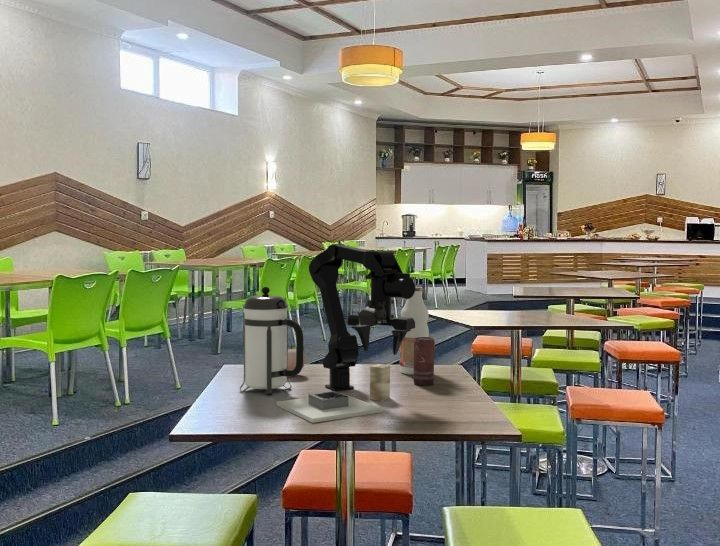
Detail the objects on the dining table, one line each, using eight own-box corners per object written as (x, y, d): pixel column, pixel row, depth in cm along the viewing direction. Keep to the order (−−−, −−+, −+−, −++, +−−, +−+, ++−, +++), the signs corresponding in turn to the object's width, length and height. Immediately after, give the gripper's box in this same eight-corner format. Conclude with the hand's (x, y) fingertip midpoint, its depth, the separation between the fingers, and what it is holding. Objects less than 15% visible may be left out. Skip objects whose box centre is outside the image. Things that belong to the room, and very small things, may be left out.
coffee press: (240, 398, 194) (240, 289, 193) (238, 385, 210) (238, 284, 208) (303, 395, 198) (303, 288, 196) (296, 383, 213) (297, 284, 212)
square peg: (369, 398, 195) (370, 366, 194) (377, 396, 198) (377, 364, 197) (382, 400, 192) (382, 368, 192) (389, 398, 196) (390, 365, 195)
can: (433, 386, 211) (434, 339, 210) (412, 385, 212) (412, 339, 211) (435, 382, 217) (436, 336, 216) (414, 381, 218) (415, 336, 217)
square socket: (308, 403, 184) (308, 394, 184) (333, 400, 188) (333, 390, 188) (322, 409, 178) (322, 400, 178) (348, 406, 182) (348, 396, 182)
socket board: (276, 405, 186) (276, 401, 186) (342, 396, 197) (342, 393, 197) (312, 422, 169) (312, 418, 169) (381, 412, 180) (382, 408, 180)
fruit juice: (410, 376, 226) (411, 288, 224) (394, 371, 234) (394, 286, 232) (434, 373, 231) (435, 287, 229) (417, 368, 239) (418, 285, 237)
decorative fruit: (284, 379, 219) (284, 347, 219) (273, 375, 226) (273, 344, 226) (311, 376, 224) (311, 345, 224) (299, 372, 231) (299, 341, 231)
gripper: (336, 296, 192) (335, 353, 193) (395, 300, 182) (395, 360, 183) (358, 293, 201) (358, 348, 202) (416, 297, 191) (415, 354, 192)
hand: (380, 352), depth 195 cm, fingers open, 9 cm apart
